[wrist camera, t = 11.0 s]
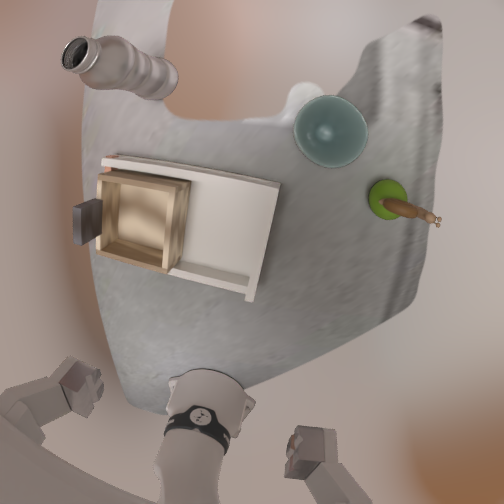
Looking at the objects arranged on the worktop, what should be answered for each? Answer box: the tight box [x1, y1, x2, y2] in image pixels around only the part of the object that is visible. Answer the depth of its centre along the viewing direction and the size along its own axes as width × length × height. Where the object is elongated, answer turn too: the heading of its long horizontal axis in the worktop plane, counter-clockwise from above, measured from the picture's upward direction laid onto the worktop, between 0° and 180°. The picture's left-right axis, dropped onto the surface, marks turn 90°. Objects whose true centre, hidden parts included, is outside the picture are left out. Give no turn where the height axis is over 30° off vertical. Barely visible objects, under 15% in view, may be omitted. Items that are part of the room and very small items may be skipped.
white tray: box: [101, 154, 281, 302], centre depth 41 cm, size 16×26×6 cm, turn 79°
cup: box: [293, 95, 368, 168], centre depth 32 cm, size 8×8×10 cm
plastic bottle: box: [61, 36, 178, 100], centre depth 27 cm, size 6×7×20 cm
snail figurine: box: [369, 179, 442, 228], centre depth 33 cm, size 5×6×12 cm
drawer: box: [73, 169, 192, 274], centre depth 37 cm, size 12×12×11 cm
